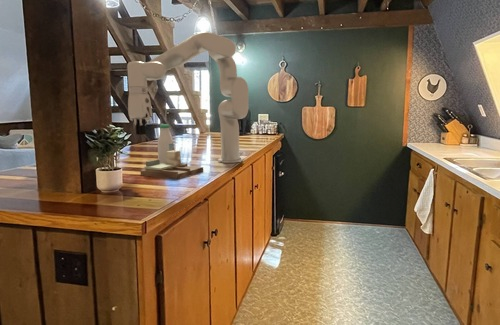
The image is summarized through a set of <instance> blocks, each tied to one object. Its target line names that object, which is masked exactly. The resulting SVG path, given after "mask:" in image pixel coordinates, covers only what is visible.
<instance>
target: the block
mask: <svg viewBox="0 0 500 325" xmlns="http://www.w3.org/2000/svg"><path fill="white" fill-rule="evenodd" d="M181 154H182V153H181V150H175V149H174V150H172V151H167V152H166V161H167V164H172V165H175V166H178V165H181V163H182V158H181V157H182V156H181Z"/></svg>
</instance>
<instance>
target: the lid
mask: <svg viewBox="0 0 500 325" xmlns="http://www.w3.org/2000/svg"><path fill="white" fill-rule="evenodd" d="M171 167H175V165H172V164H162V163H160V160H159V159H157V158H156V159H152V160H147V161H145V166H144V169H154V170H163V169H167V168H171Z"/></svg>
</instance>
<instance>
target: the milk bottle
mask: <svg viewBox="0 0 500 325" xmlns="http://www.w3.org/2000/svg"><path fill="white" fill-rule="evenodd" d="M170 127H171V126H170V124H160V125H159V129H160V133H159V135H158V139H157V157H158V159H159V160H160V163H162V164H167V161H166V152H167V151H172V150H174V151H175V147H174V145H175V143H174V140H173V137H172V134H171V132H170Z"/></svg>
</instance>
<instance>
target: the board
mask: <svg viewBox="0 0 500 325" xmlns="http://www.w3.org/2000/svg"><path fill="white" fill-rule="evenodd" d="M139 171H140V176H144V177H145V176H147V177H154V178H163V179H170V180H180V179H183V178H186V177H190V176H193V175H197V174H200V173H203V172H204V167H203V166H193V165H188V163H185V162H184V163H183V162H181V165H178V166H175V167H171V168H167V169H163V170H154V169H145V168H144V169H141V170H139Z"/></svg>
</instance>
